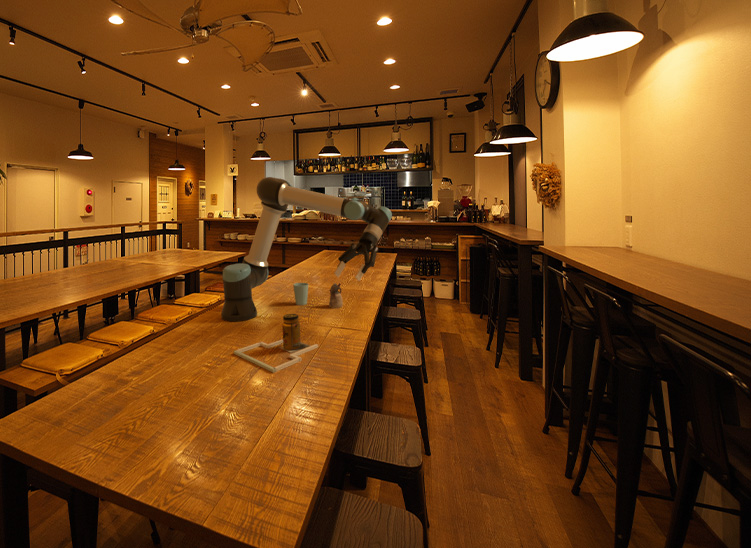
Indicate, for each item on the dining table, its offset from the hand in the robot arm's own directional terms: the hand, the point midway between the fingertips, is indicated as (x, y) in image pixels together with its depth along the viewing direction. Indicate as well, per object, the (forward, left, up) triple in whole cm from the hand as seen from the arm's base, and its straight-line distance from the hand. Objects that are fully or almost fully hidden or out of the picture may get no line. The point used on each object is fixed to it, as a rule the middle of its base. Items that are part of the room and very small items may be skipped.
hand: (346, 277), depth 144 cm
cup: (-42, +11, -22) cm, 49 cm away
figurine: (-25, +19, -22) cm, 38 cm away
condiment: (0, -28, -22) cm, 35 cm away
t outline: (0, -35, -21) cm, 41 cm away
